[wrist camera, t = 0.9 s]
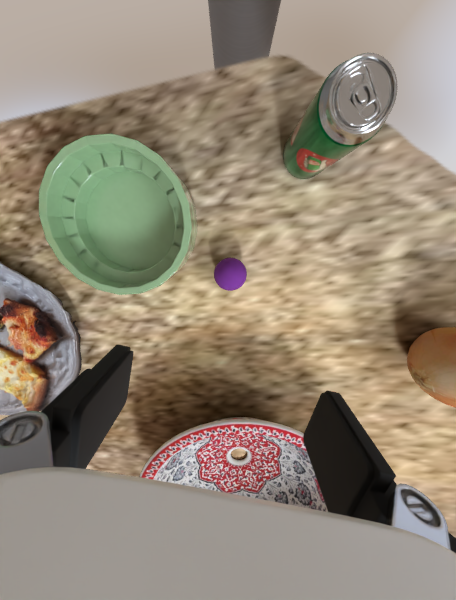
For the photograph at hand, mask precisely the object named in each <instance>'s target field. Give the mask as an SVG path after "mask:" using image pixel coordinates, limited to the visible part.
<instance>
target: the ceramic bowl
mask: <svg viewBox="0 0 456 600" xmlns="http://www.w3.org/2000/svg"><path fill="white" fill-rule="evenodd" d="M303 436H304V433H302V432H300V431H298V430H296V429H293V428H291V427H288V426H285V425H282V424H278V423H273V422H269V421H265V420H261V419H256V418H247V417H234V418H225V419H220V420H216V421H213V422H210V423H207V424H203V425H199V426H197V427H194V428H191V429H189V430H186V431H184V432H182V433H180V434H178V435H176V436H175V437H173V438H171V439H170V440H168V441H167V442H166V443H164V444H163V445H162V446H161V447H160V448H158V449H157V450H156V451H155V453H154V454H153V455H152V456H151V457H150V458H149V460H148V461H147V463H146V464H145V466H144V468H143V469H142V471H141V474H140V476H139V477H142V478H147V479H153V480H158V481H164V482H169V483H175V484H181V485H186V486H192V487H197V488H203V489H208V490H214V491H219V492H224V493H230V494H235V495H241V496H246V497H251V498H257V499H262V500H267V501H273V502H278V503H283V504H288V505H293V506H299V507H304V508H309V509H314V510H319V511H324V512H328V510H327V507H326V504H325V501H324V499H323V496H322V493H321V490H320V487H319V484H318V482H317V479H316V476H315V473H314V470H313V467H312V465H311V462H310V459H309V456H308V453H307V450H306V448H305V445H304V441H303ZM237 448H241V449H244V450H246V451H247V453H248V454H247V457H246V458H245V459H243V460H235V459H233V458H232V457H231V452H232V451H233V450H234V449H237Z"/></svg>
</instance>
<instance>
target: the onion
mask: <svg viewBox="0 0 456 600" xmlns="http://www.w3.org/2000/svg"><path fill="white" fill-rule="evenodd" d="M407 364H408V369H409V371H410V374H411V376H412V378H413V379H414V381H415V382H416V383H417V384H418V385H419V386H420V388H421V389H422V390H424V391H425V392H426V393H428V394H429V395H430V396H432V397H433V398H435V399H437V400H439V401H441V402H443V403H445V404H447V405H450V406H453V407H456V327H442V328H436V329H433V330H430V331H427V332H425V333H423V334H422V335H420V336H419V337H418V338H417V339H416V340H415V341H414V342H413V344H412V345H411V347H410V349H409V353H408V357H407Z"/></svg>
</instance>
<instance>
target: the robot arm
mask: <svg viewBox="0 0 456 600" xmlns="http://www.w3.org/2000/svg"><path fill="white" fill-rule="evenodd" d="M132 360H133V351H130V347H127V346H122V345H116V346H115V347H114V348H113V349H112V350H111V351H110V352H109V353H108V354H107V355H106V356H105V357H104V358H103V359H102V360H100V361H99V362H98V363H97V364H96V365H95V366H94V367H93V368H92V369H86V370H85V371H84V372H83V373H81V374H80V375H79V376H78V377H77V378H76V379H75V380H74V381H73V382H72V383H71V384H70V385H69V386H68V387H67V388H66V389H64V390H63V391H62V392H61V393H60V394H59V395H58V396H57V397H56V398H55V399H54V400H53V401H52V402H51V403H50V404H49V405H47V406H46V407H45V408H44V409H43V410H42V411H41V412H38V411H24V412H19V413H16V414H13V415H10V416H8V417H6V418H4V419H2V420H0V600H456V538H455V537H453V536H452V535H451V534H450V533H448V527H447V523H446V520H445V518H444V517H443V515H442V513H441V512H440V510H439V509H438V508H437V507H436V506H435V504H434V503H433V502H432V501H431V500H430V499H429V498H428V497H426V496H425V495H424V494H423V493H421V492H420V491H418V490H417V489H415V488H413V487H411V486H409V485H406V484H399V485H396V483H395V482H394V478H395V477H396V475H395V474H394V472H393V471H392V469H391V468H390V466H389V465H388V463H387V462H386V460H385V459H384V458H383V456H382V455H381V453H380V452H379V450H378V449H377V447H376V446H375V444H374V443H373V441H372V440H371V439H370V437H369V436H368V434H367V433H366V431H365V430H364V428H363V427H362V425H361V424H360V423H359V421H358V420H357V418H356V417H355V415H354V414H353V412H352V411H351V409H350V408H349V406H348V405H347V404H346V402H345V401H344V399H343V398H342V396H341V395H340V394H339V393H336V392H331V391H326V392H325V393H322V394H321V396H320V398H319V400H318V403H317V405H316V407H315V409H314V412H313V414H312V416H311V419H310V421H309V423H308V426H307V428H306V430H305V433H304V436H303V441H304V445H305V448H306V450H307V453H308V456H309V459H310V462H311V465H312V467H313V470H314V473H315V476H316V479H317V482H318V484H319V487H320V490H321V493H322V496H323V499H324V501H325V504H326V507H327V510H328V512H324V511H319V510H314V509H309V508H304V507H299V506H293V505H288V504H283V503H278V502H273V501H267V500H262V499H257V498H251V497H246V496H241V495H235V494H230V493H224V492H219V491H214V490H208V489H203V488H197V487H192V486H186V485H181V484H175V483H169V482H164V481H158V480H153V479H147V478H142V477H136V476H129V475H123V474H117V473H111V472H104V471H98V470H90V469H86V467H87V465H88V464H89V462H90V460H91V459H92V457H93V456H94V454H95V452H96V451H97V449H98V447H99V446H100V444H101V443H102V441H103V439H104V438H105V436H106V434H107V433H108V431H109V430H110V428H111V426H112V425H113V423H114V421H115V420H116V418H117V417H118V415H119V413H120V412H121V410H122V408H123V407H124V405H125V403H126V400H127V395H128V388H129V381H130V374H131V367H132Z"/></svg>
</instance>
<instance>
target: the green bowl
mask: <svg viewBox="0 0 456 600" xmlns="http://www.w3.org/2000/svg"><path fill="white" fill-rule="evenodd" d="M39 217H40V220H41V223H42V227H43V230H44V234H45V237H46V240H47V242H48V243H49V245H50V247H51V248H52V250H53V251H54V253H55V255H56V256H57V258H58V260H59V261H60V262H61V263H62V264H63V265H64V266H65V267H66V268H67V269H68V270H69V271H70V272H71V273H72V274H73V275H74V276H75V277H77V278H78V279H80V280H81V281H83V282H85V283H87V284H89V285H90V286H92V287H94V288H96V289H98V290H101V291H106V292H110V293H114V294H119V295H124V294H139V293H143V292H146V291H148V290H151V289H153V288H156V287H158V286H160V285H162V284H163V283H164V282H166V281H167V280H168V279H170V278H171V277H172V276H173V275H174V274H175V273H177V272H178V271H179V270H180V269H181V268H182V267H183V266H184V265H185V263H186V261H187V260H188V258H189V256H190V254H191V253H192V251H193V249H194V244H195V239H196V234H197V220H196V211H195V206H194V203H193V201H192V199H191V196H190V194H189V191H188V189H187V187H186V185H185V184H184V183H183V182H182V180H181V179H180V178H179V177H178V175H177V174H176V173H175V172H174V171H173V169H172V168H171V167H170V166H169V165H168V164H167V163H166V162H165V161H164V159H163V158H162V157H161V156H160V155H158V154H157V153H155V152H154V151H152V150H151V149H149V148H148V147H146V146H145V145H143V144H142V143H140V142H139V141H137V140H134V139H130V138H126V137H123V136H119V135H116V134H112V133H111V134H99V135H88V136H84V137H82V138H80V139H78V140H76V141H74V142H72V143H70V144H68V145H66V146H64V148H62V149H61V150H60V151H59V153H58V154H57V155H56V156H55V157H54V159H53V160H52V161H51V162H50V163H49V165H48V166H47V168H46V171H45V174H44V177H43V180H42V183H41V186H40V189H39Z"/></svg>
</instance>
